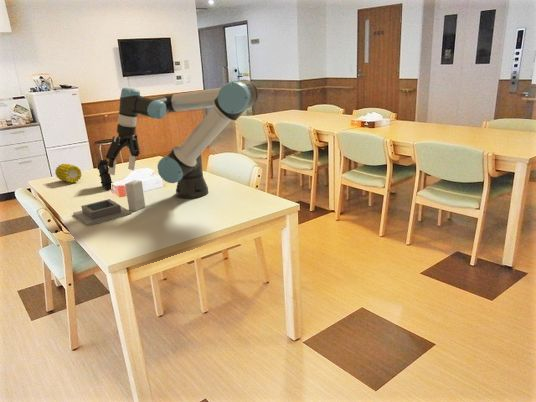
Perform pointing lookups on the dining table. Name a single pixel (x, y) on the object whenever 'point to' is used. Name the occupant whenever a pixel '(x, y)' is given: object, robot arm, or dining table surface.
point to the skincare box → (135, 195)
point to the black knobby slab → (104, 174)
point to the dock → (100, 212)
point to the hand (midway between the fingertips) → (121, 171)
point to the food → (68, 173)
